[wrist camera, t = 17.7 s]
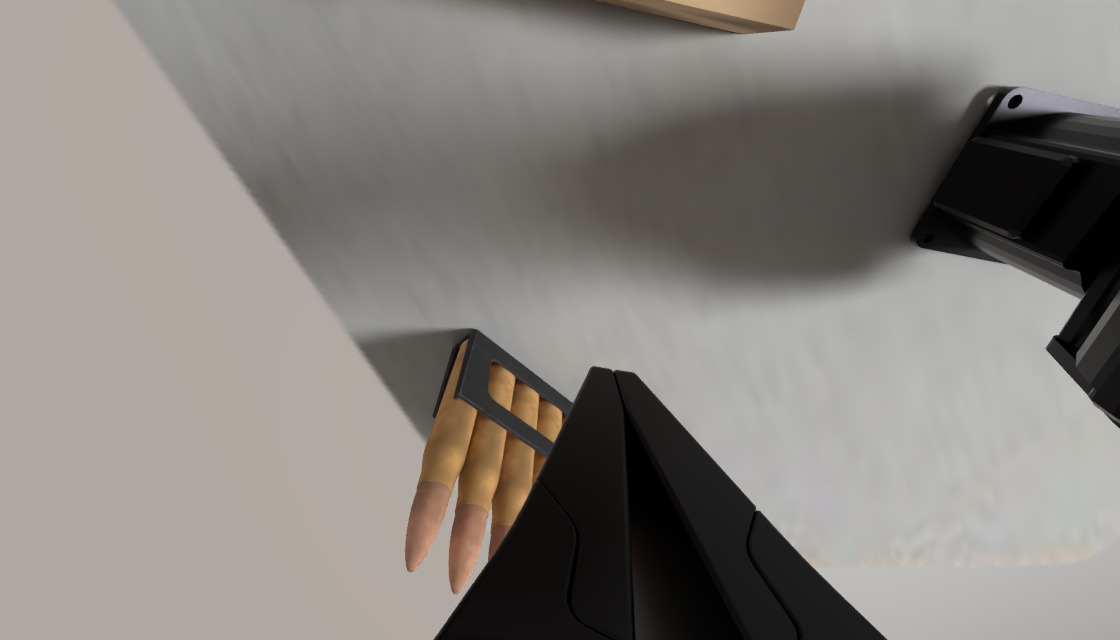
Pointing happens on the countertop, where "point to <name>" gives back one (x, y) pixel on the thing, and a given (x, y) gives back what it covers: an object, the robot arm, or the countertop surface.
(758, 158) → the countertop surface
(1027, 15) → the countertop surface
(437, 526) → the ammunition clip
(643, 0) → the light brown wooden box
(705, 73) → the countertop surface
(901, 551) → the countertop surface
